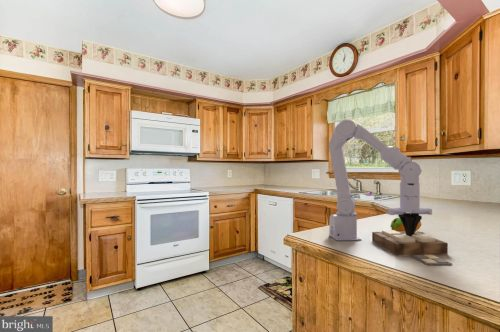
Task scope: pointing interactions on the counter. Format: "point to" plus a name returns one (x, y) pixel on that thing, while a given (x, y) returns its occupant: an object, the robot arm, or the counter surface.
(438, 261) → the card
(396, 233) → the button
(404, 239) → the button
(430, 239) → the button
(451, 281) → the counter surface
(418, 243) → the button board
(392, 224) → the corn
